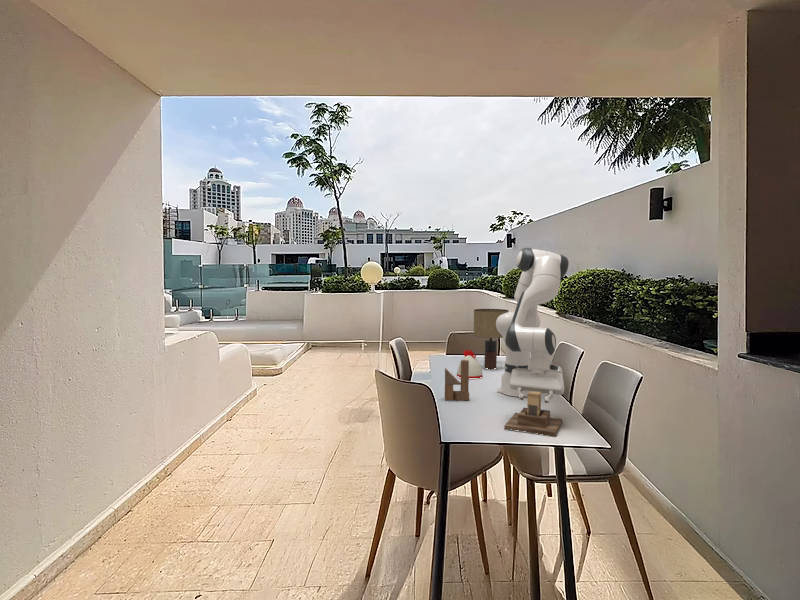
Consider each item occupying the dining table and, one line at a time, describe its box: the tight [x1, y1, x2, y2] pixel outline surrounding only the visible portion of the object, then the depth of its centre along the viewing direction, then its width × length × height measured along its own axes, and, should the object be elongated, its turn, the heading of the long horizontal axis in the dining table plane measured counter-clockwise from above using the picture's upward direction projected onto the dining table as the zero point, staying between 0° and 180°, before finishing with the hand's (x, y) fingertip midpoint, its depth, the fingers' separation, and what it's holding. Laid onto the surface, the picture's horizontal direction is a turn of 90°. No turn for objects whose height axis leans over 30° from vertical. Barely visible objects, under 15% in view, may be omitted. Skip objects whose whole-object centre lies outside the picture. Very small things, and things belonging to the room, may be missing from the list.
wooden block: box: [444, 359, 470, 401], centre depth 220 cm, size 4×11×18 cm, turn 90°
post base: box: [503, 407, 564, 437], centre depth 183 cm, size 18×18×5 cm
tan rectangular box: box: [526, 391, 542, 416], centre depth 183 cm, size 5×4×11 cm
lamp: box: [473, 308, 510, 369], centre depth 289 cm, size 20×20×35 cm
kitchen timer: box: [456, 349, 483, 379], centre depth 269 cm, size 14×14×15 cm
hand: (533, 400), depth 183 cm, fingers open, 8 cm apart
